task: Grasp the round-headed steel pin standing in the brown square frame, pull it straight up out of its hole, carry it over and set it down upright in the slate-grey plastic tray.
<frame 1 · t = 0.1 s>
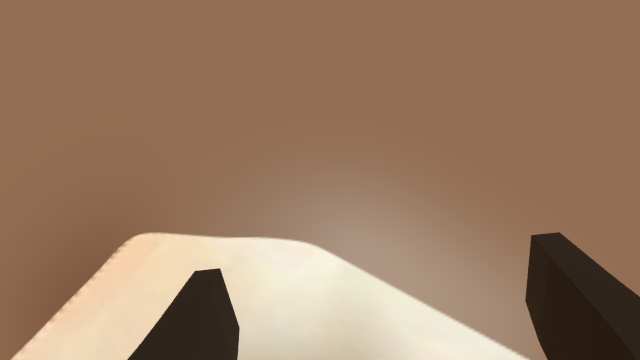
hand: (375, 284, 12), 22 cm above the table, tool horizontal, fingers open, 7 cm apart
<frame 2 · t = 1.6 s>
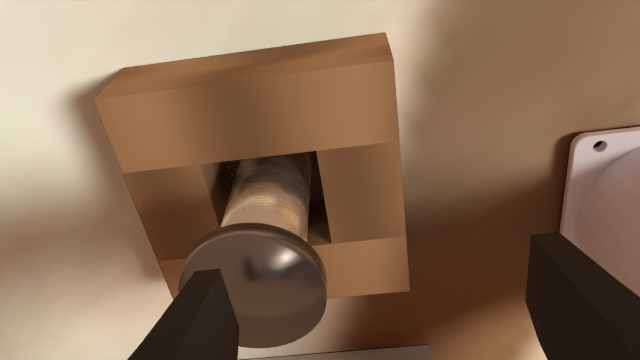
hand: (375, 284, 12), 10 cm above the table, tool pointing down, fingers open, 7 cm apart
pin: (266, 219, 19), in the brown square frame
brown square frame: (276, 165, 22), on the table
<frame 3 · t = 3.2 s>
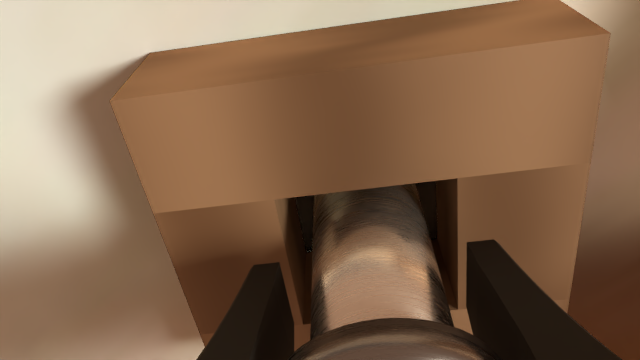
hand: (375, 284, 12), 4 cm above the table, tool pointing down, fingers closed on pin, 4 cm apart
pin: (375, 283, 12), in the brown square frame, touching gripper
brown square frame: (364, 191, 16), on the table
when the fingers open (5 cm above the table, at t = 7.7 s): pin moves 1 cm, resting on tray.
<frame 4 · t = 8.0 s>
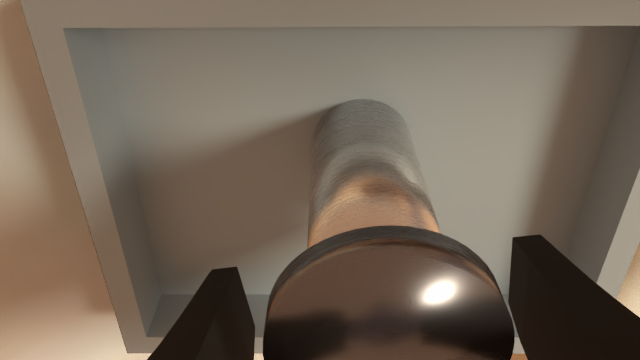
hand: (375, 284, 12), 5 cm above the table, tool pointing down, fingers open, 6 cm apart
tray: (361, 165, 17), on the table
pin: (370, 221, 13), in the tray
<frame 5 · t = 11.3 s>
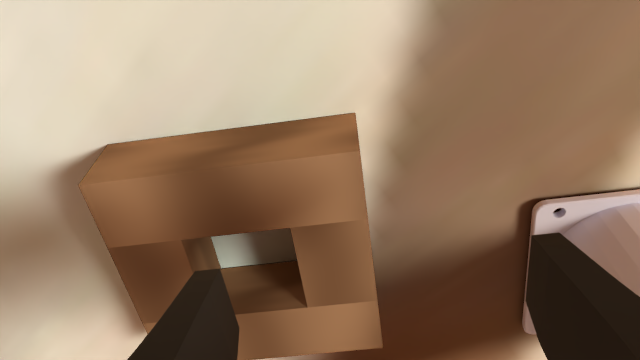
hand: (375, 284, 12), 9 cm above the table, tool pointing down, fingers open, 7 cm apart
brown square frame: (255, 228, 23), on the table
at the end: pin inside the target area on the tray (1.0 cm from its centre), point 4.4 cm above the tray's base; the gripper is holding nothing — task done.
